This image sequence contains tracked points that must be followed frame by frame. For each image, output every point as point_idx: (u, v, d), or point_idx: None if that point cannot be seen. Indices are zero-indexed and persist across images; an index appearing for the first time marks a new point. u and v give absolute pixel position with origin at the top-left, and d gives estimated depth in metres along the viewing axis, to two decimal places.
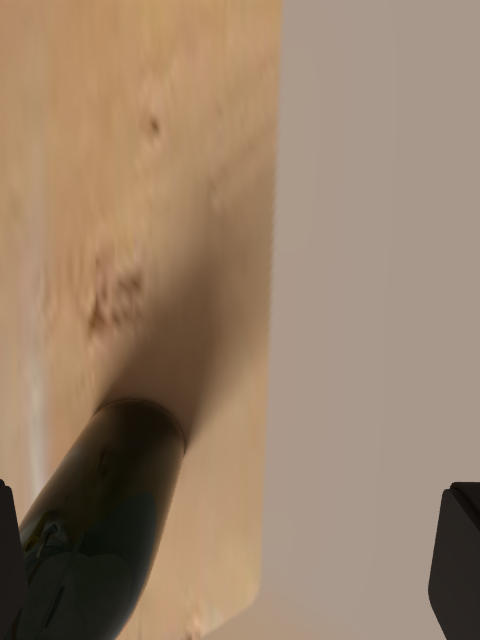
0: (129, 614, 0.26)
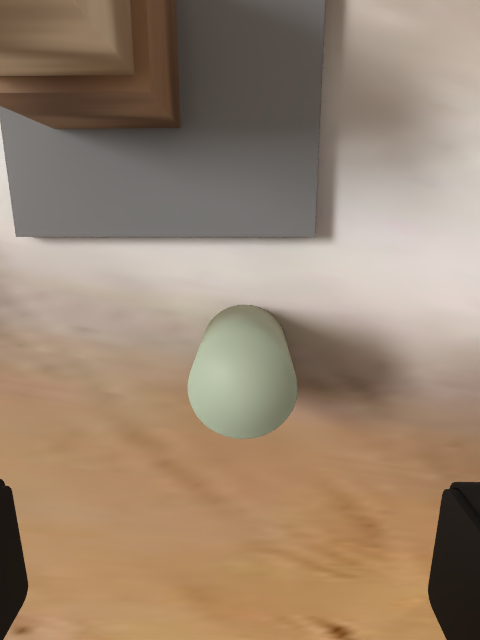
0: None
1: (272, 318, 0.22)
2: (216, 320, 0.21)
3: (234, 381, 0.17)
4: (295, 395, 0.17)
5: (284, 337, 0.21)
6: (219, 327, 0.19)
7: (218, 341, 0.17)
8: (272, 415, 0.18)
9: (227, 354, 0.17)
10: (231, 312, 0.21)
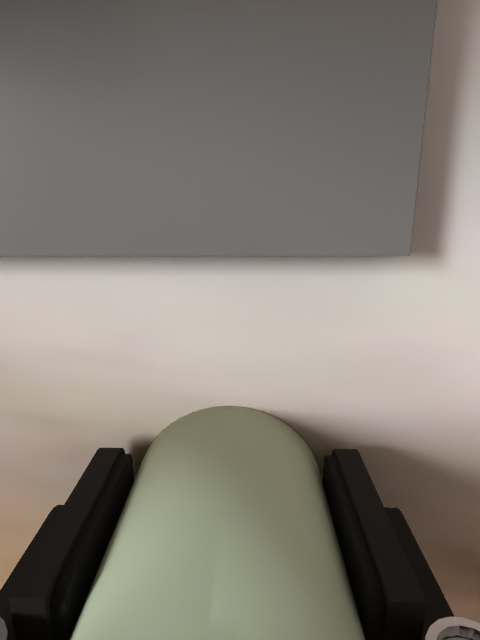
0: None
1: (294, 445, 0.09)
2: (157, 462, 0.08)
3: None
4: None
5: (326, 503, 0.09)
6: (149, 528, 0.06)
7: None
8: None
9: None
10: (194, 440, 0.09)
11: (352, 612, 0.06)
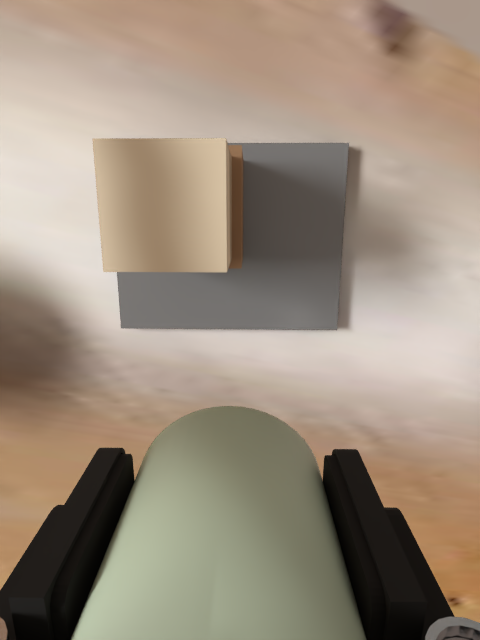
0: None
1: (295, 445, 0.09)
2: (157, 462, 0.08)
3: None
4: None
5: (327, 503, 0.09)
6: (149, 528, 0.06)
7: None
8: None
9: None
10: (195, 440, 0.09)
11: (353, 612, 0.06)
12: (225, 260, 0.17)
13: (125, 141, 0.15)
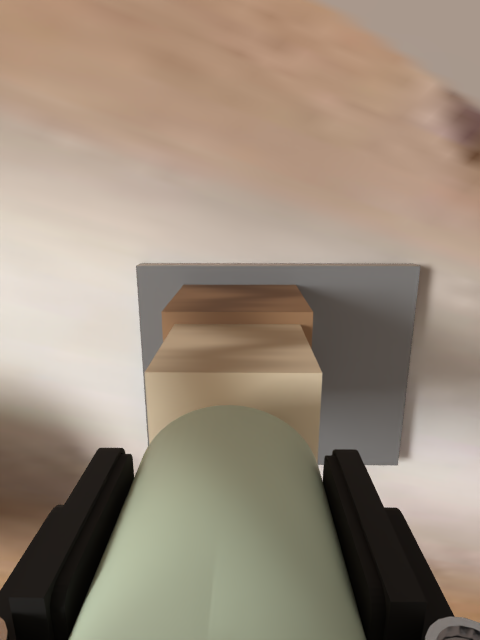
0: None
1: (294, 444, 0.09)
2: (156, 461, 0.08)
3: None
4: None
5: (326, 502, 0.08)
6: (148, 528, 0.06)
7: None
8: None
9: None
10: (194, 439, 0.09)
11: (353, 612, 0.06)
12: None
13: (188, 376, 0.12)
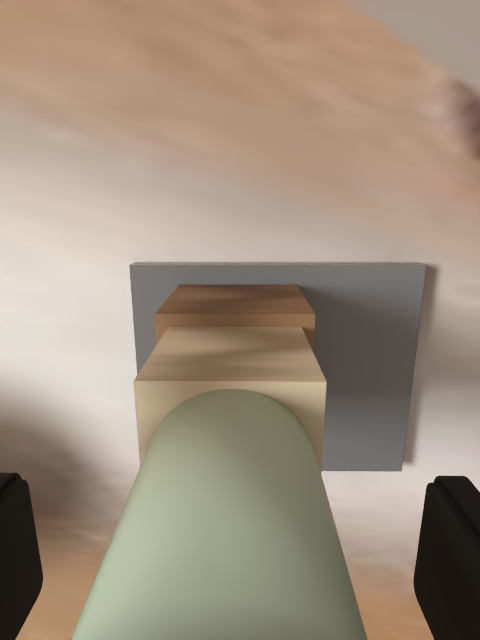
0: None
1: (290, 423, 0.10)
2: (166, 437, 0.09)
3: None
4: None
5: (319, 473, 0.09)
6: (161, 488, 0.07)
7: (135, 606, 0.05)
8: None
9: None
10: (200, 417, 0.09)
11: (339, 558, 0.07)
12: None
13: (181, 385, 0.11)
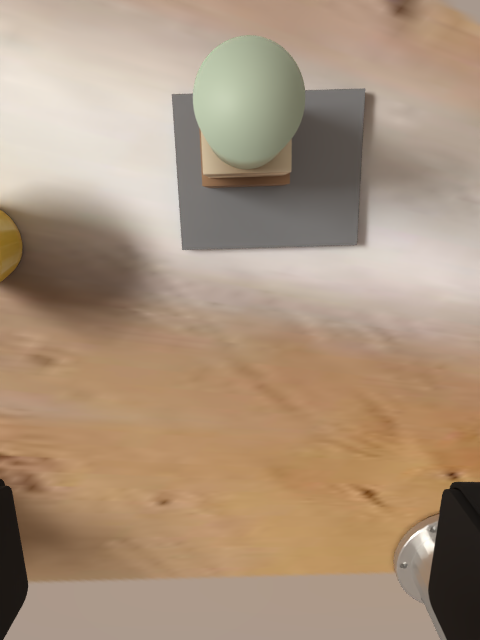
0: None
1: None
2: None
3: (240, 89, 0.17)
4: (303, 104, 0.17)
5: None
6: None
7: (222, 44, 0.16)
8: (280, 130, 0.17)
9: (232, 57, 0.16)
10: None
11: None
12: (290, 162, 0.23)
13: None
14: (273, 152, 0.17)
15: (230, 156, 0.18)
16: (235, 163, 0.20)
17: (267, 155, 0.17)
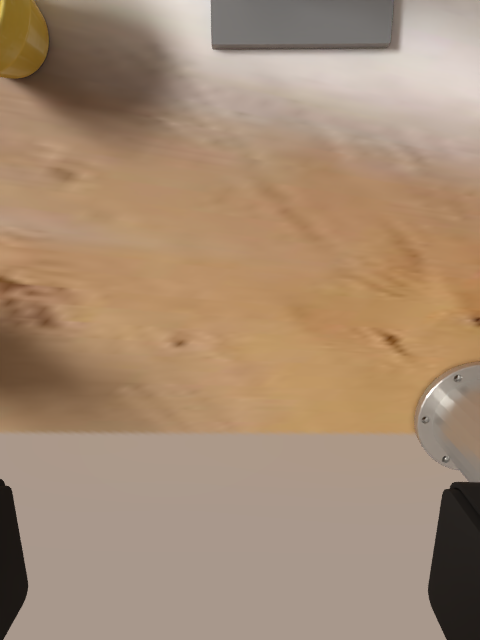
0: None
1: None
2: None
3: None
4: None
5: None
6: None
7: None
8: None
9: None
10: None
11: None
12: None
13: None
14: None
15: None
16: None
17: None
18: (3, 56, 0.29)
